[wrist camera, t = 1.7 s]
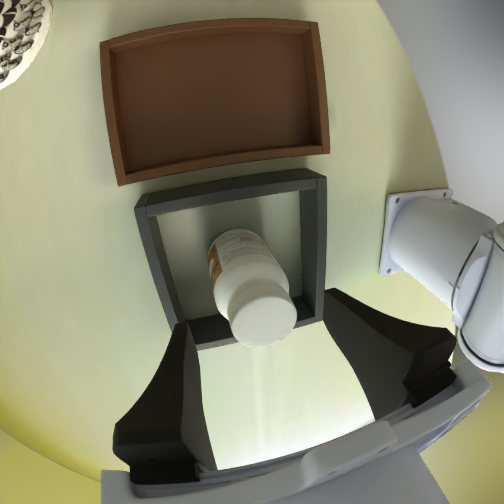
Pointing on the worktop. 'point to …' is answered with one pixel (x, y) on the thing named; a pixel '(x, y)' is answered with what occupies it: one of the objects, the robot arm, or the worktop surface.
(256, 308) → the pill bottle
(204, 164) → the tray
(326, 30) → the worktop surface
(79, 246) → the worktop surface
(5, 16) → the decorative candle
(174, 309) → the dark grey square frame
